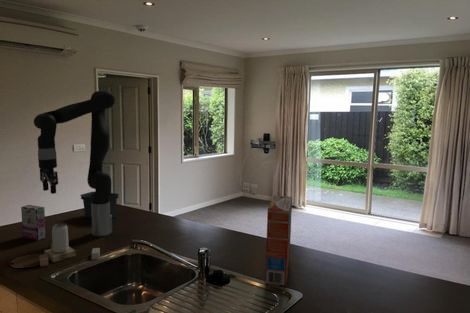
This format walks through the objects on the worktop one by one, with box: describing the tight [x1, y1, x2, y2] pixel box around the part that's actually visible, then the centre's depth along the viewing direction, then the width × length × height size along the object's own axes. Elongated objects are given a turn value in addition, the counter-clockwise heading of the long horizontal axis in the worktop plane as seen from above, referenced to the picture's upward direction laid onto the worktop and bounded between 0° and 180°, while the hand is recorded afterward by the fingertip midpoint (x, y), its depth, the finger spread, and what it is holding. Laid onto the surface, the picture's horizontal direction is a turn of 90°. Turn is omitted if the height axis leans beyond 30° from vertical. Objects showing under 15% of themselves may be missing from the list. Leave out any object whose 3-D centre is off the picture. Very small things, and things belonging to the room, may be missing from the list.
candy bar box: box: [21, 204, 47, 241], centre depth 184 cm, size 11×5×16 cm, turn 68°
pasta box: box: [264, 195, 293, 287], centre depth 150 cm, size 23×8×30 cm, turn 168°
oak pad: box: [43, 246, 77, 263], centre depth 164 cm, size 10×10×2 cm
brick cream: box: [91, 247, 101, 260], centre depth 164 cm, size 6×3×3 cm
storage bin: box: [79, 191, 120, 219], centre depth 221 cm, size 21×16×14 cm
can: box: [51, 222, 70, 253], centre depth 163 cm, size 6×6×12 cm
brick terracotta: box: [38, 253, 49, 267], centre depth 156 cm, size 6×3×3 cm, turn 32°
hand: (49, 191), depth 170 cm, fingers open, 8 cm apart
